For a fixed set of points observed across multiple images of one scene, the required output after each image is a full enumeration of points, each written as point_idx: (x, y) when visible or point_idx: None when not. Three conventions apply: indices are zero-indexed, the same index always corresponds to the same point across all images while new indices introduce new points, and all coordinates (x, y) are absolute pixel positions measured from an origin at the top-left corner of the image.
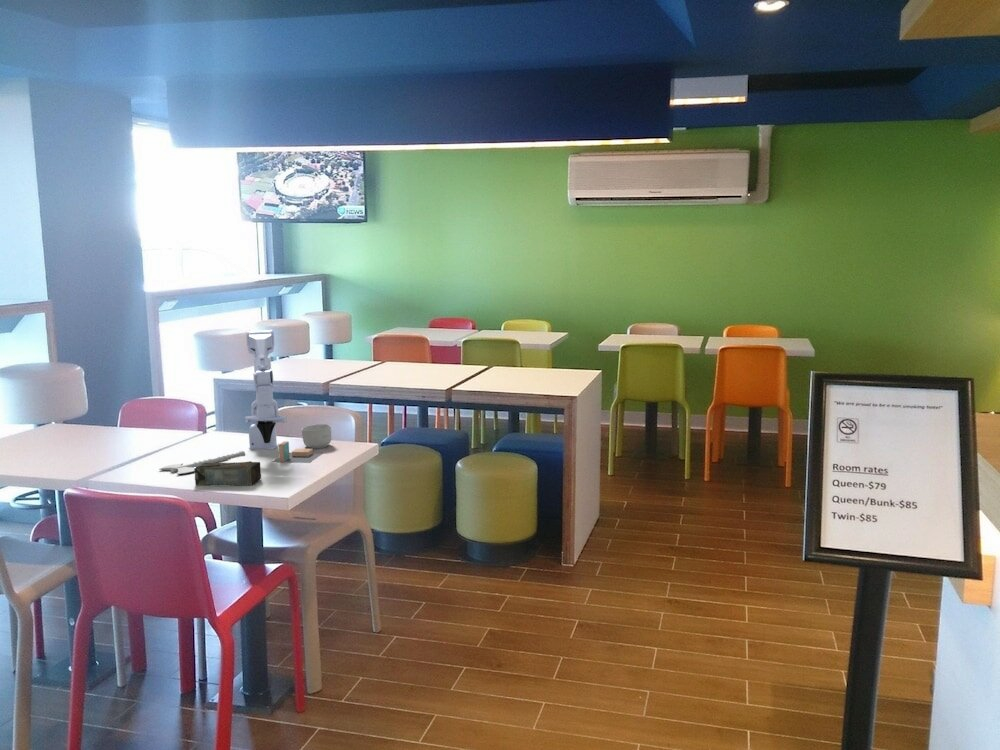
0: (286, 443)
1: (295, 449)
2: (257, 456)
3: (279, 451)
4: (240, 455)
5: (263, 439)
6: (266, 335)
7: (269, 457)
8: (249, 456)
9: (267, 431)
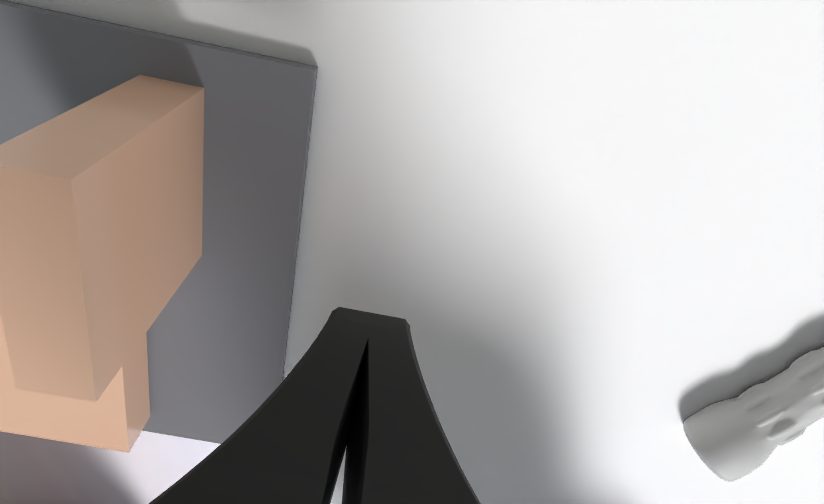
0: (10, 305)
1: (125, 422)
2: (550, 391)
3: (130, 131)
4: (736, 406)
5: (414, 358)
6: None
7: (412, 339)
8: (635, 402)
9: (233, 481)
